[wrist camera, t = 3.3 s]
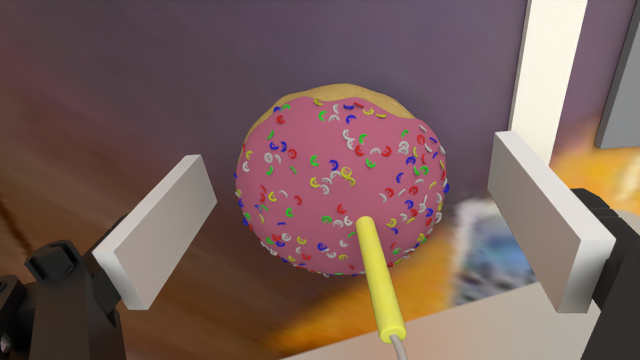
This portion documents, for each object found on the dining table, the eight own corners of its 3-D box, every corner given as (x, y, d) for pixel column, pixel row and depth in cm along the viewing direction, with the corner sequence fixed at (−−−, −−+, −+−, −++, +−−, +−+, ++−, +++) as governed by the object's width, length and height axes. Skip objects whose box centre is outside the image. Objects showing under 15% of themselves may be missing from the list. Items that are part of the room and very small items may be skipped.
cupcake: (419, 40, 15) (535, 190, 5) (434, 198, 19) (514, 460, 9) (240, 82, 17) (47, 253, 7) (289, 217, 21) (217, 451, 11)
